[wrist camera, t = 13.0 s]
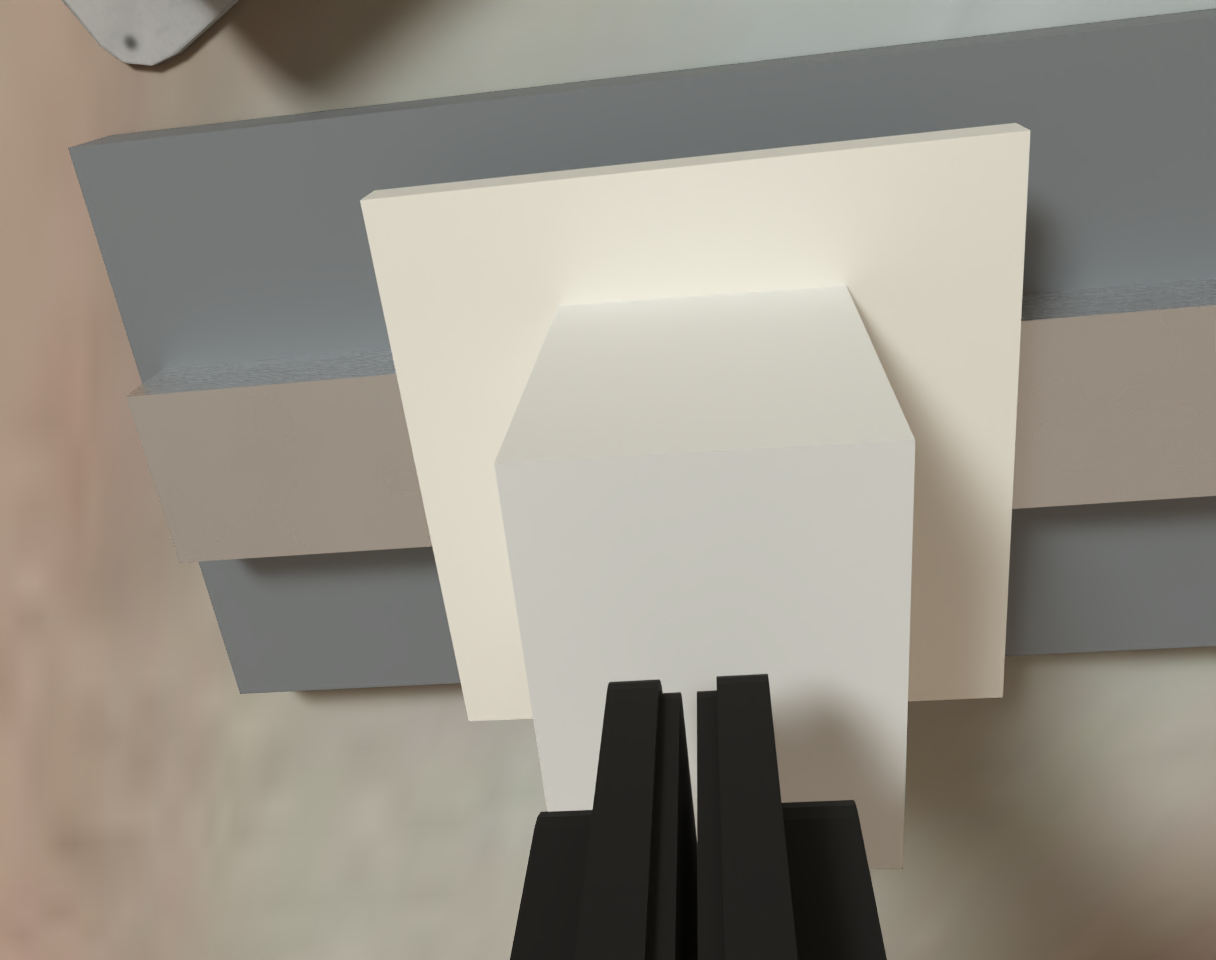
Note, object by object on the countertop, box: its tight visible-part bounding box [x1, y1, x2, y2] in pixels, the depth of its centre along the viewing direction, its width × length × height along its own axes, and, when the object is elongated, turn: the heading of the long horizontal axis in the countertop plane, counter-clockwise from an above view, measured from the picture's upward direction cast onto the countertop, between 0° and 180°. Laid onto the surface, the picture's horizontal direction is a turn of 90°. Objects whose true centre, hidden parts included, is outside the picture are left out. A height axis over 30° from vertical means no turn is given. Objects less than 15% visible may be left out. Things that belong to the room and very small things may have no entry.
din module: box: [494, 286, 915, 869], centre depth 16 cm, size 4×6×6 cm
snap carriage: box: [360, 123, 1030, 721], centre depth 20 cm, size 10×11×2 cm
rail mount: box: [68, 9, 1216, 694], centre depth 21 cm, size 22×12×3 cm, turn 97°
